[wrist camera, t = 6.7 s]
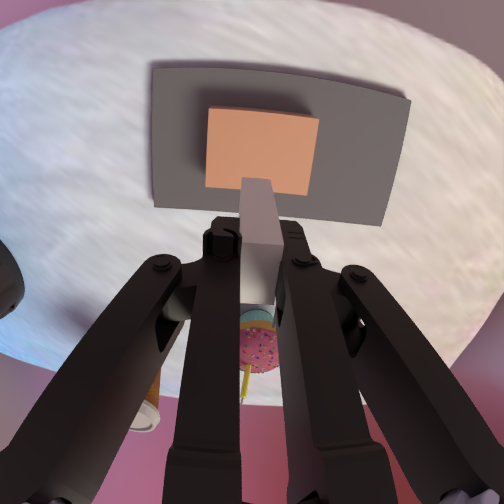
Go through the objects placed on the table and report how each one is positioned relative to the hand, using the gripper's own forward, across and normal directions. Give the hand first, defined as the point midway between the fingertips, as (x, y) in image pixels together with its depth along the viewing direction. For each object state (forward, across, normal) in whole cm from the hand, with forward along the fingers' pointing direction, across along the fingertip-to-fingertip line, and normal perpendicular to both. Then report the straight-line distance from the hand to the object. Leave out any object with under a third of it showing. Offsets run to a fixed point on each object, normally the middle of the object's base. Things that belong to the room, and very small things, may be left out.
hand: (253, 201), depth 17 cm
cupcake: (+14, +3, -23) cm, 27 cm away
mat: (+14, +3, 0) cm, 14 cm away
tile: (+11, +5, 0) cm, 12 cm away
